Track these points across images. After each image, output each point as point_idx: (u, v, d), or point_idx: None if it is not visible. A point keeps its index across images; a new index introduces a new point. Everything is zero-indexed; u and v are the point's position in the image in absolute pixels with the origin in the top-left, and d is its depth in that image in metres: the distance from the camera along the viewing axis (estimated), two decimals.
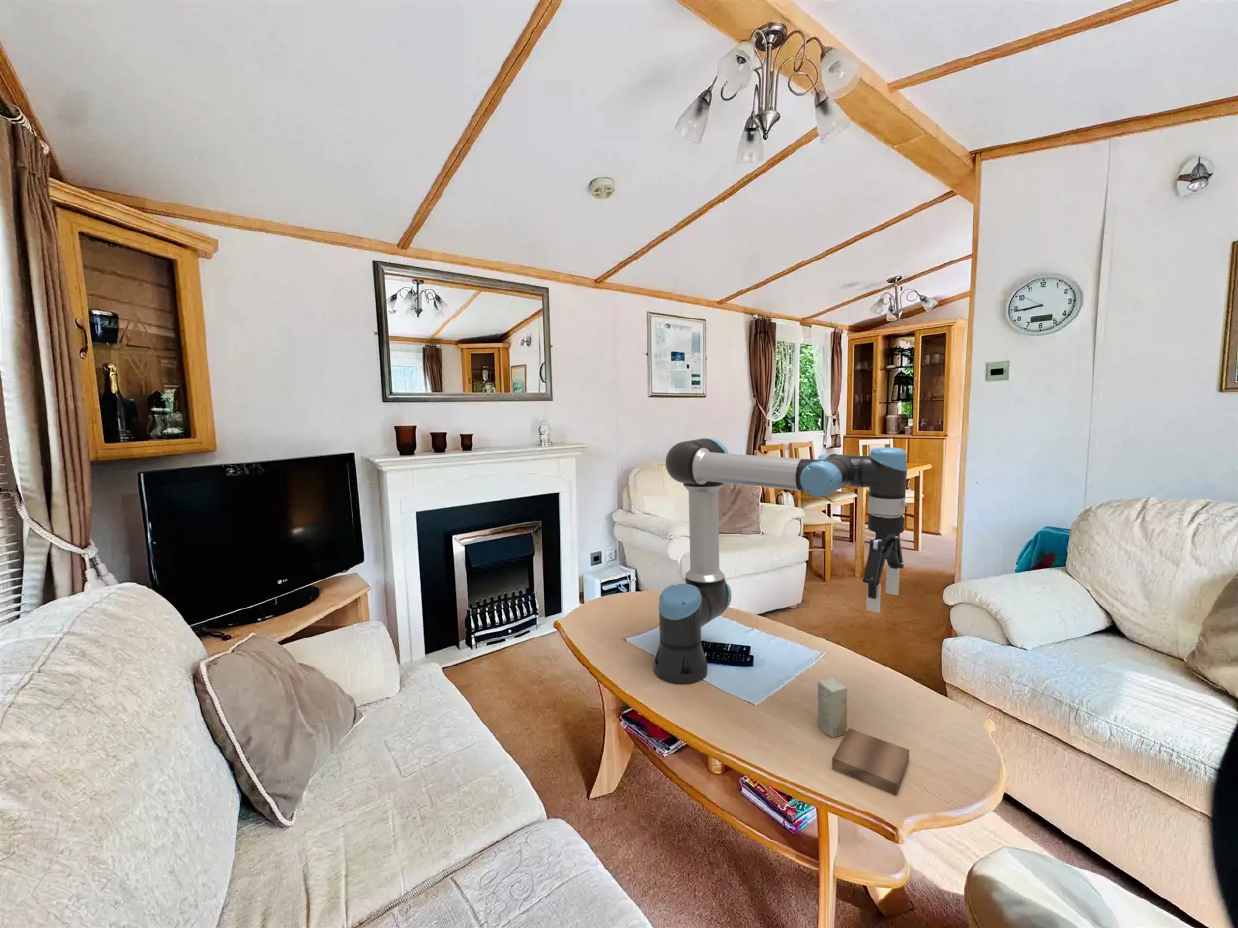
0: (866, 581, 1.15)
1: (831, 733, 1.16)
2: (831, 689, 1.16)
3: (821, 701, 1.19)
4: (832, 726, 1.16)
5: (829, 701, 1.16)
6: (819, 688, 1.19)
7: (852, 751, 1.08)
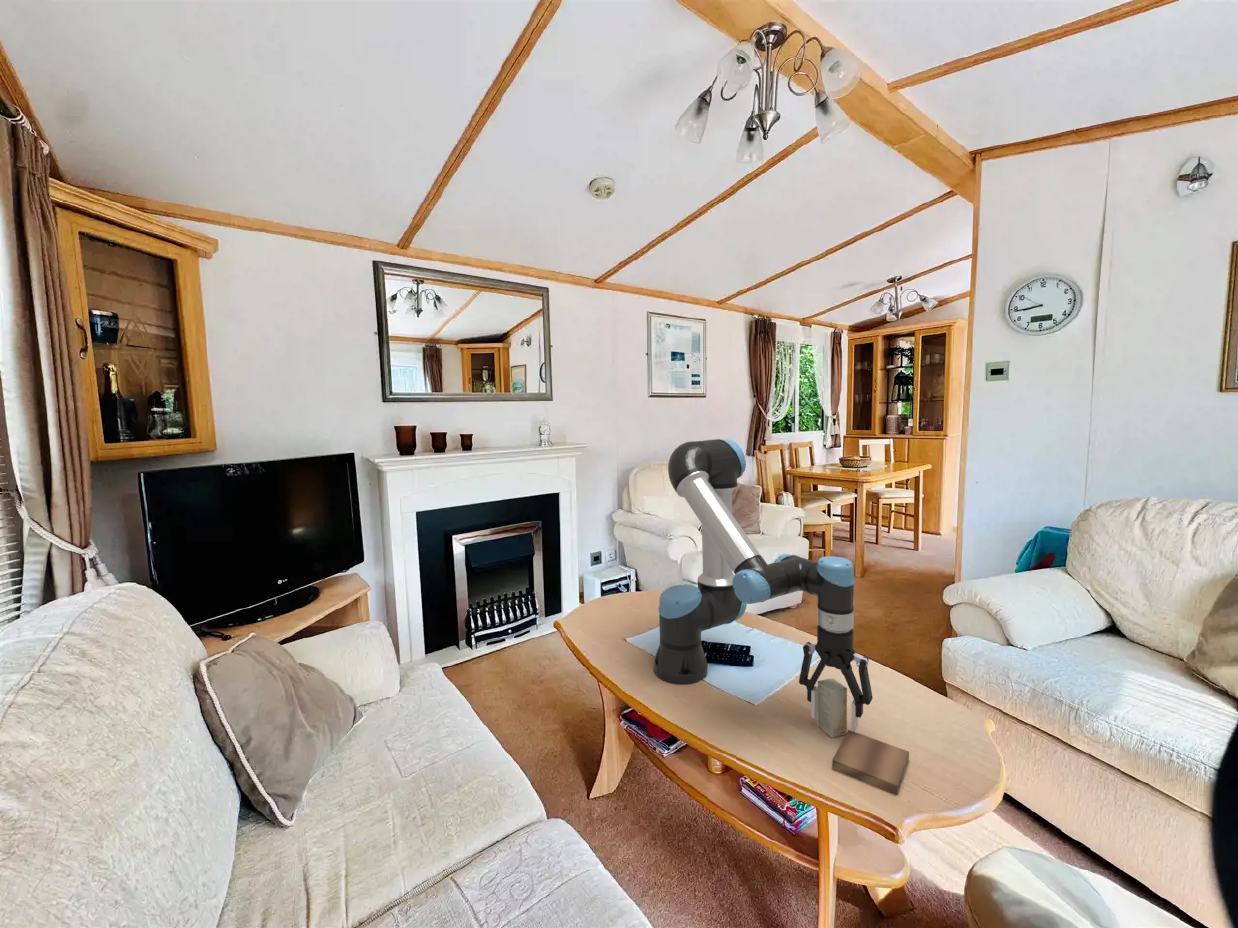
0: None
1: (831, 733, 1.16)
2: (831, 690, 1.16)
3: (821, 701, 1.19)
4: (832, 726, 1.16)
5: (829, 701, 1.16)
6: (819, 688, 1.19)
7: (852, 753, 1.08)
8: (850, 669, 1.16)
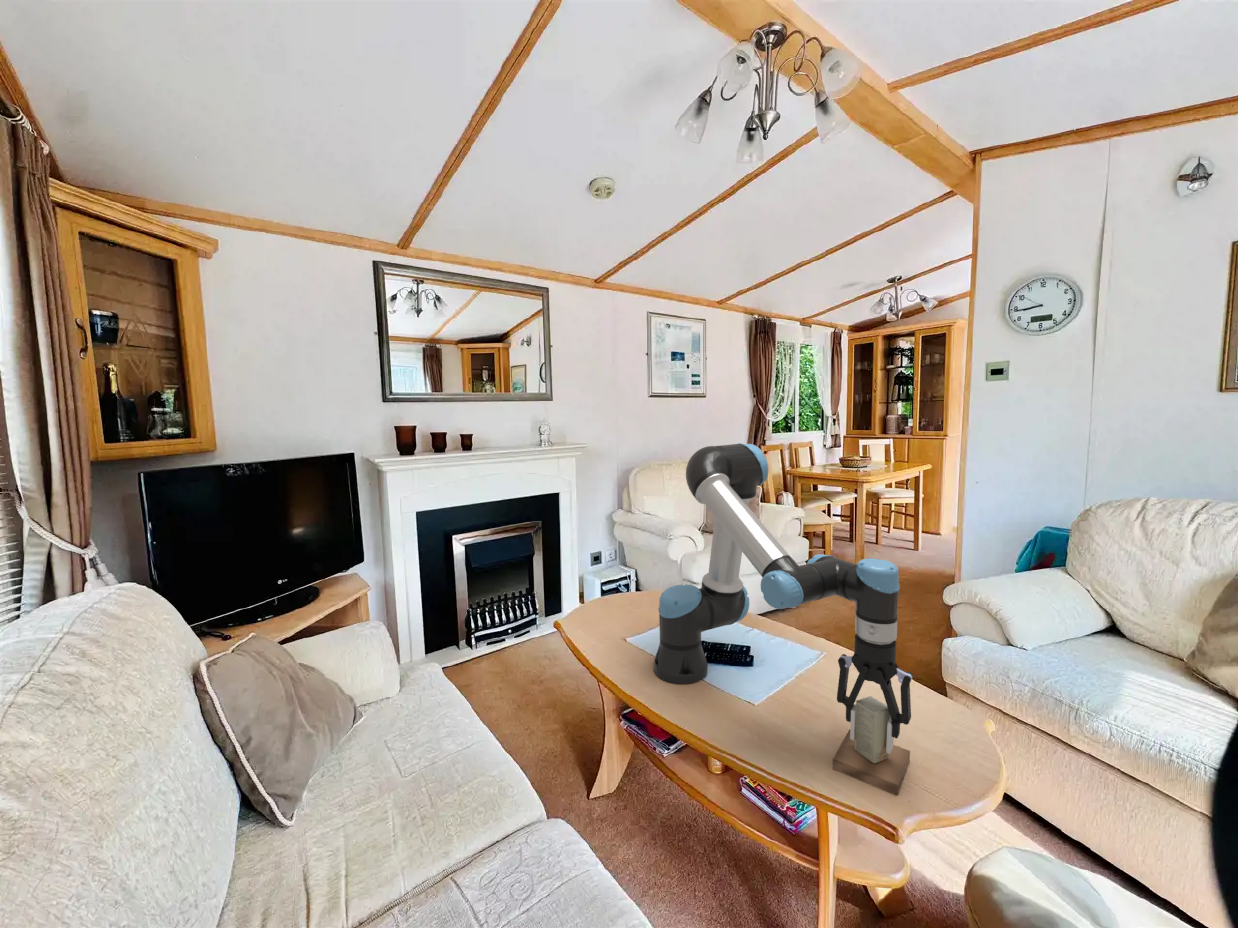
0: None
1: (874, 759, 1.05)
2: (875, 711, 1.04)
3: (860, 723, 1.07)
4: (875, 751, 1.04)
5: (871, 723, 1.04)
6: (858, 709, 1.07)
7: (853, 752, 1.08)
8: (890, 685, 1.04)
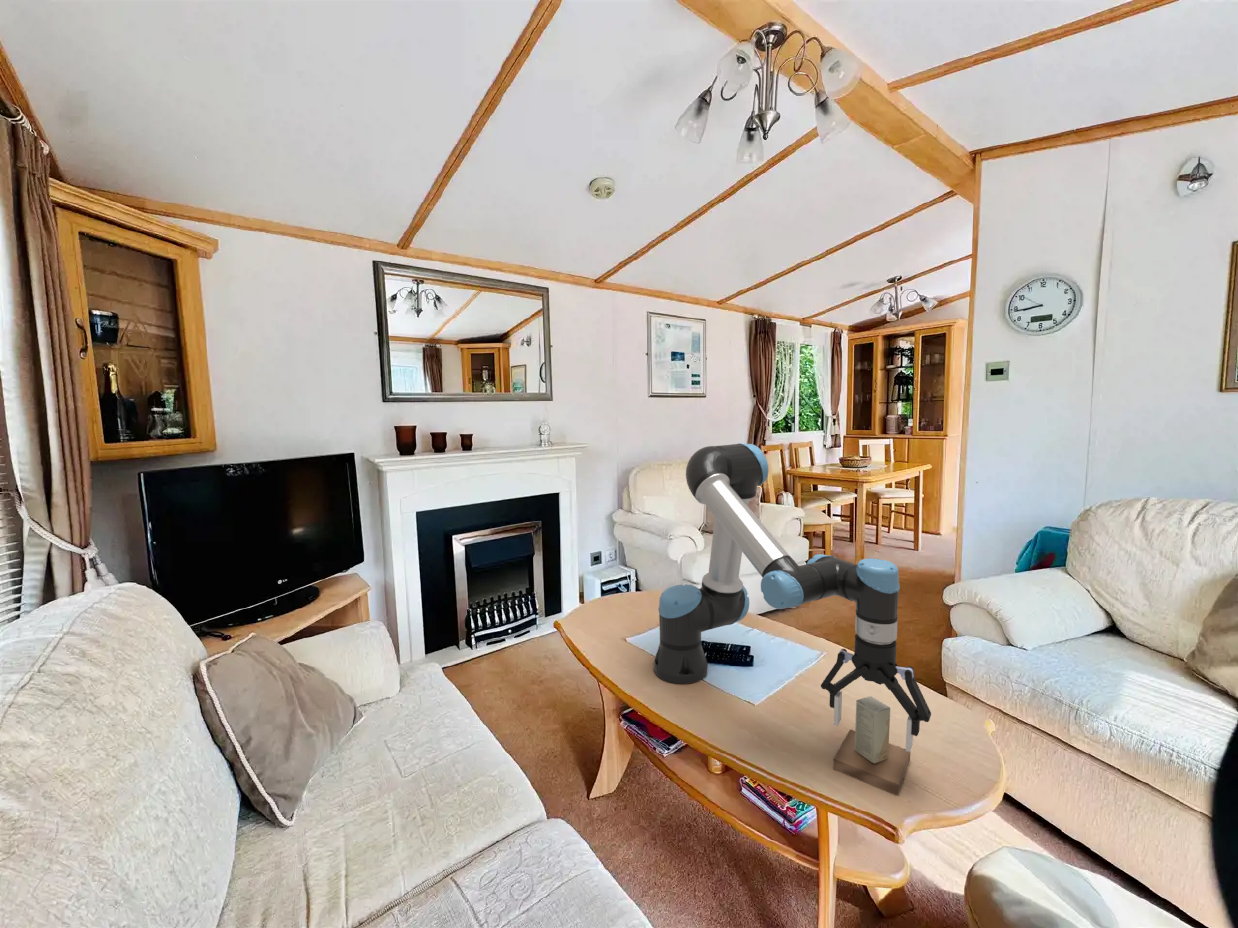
0: None
1: (873, 759, 1.04)
2: (875, 710, 1.04)
3: (860, 723, 1.07)
4: (874, 751, 1.04)
5: (871, 722, 1.04)
6: (858, 708, 1.07)
7: (854, 752, 1.08)
8: (896, 682, 1.03)
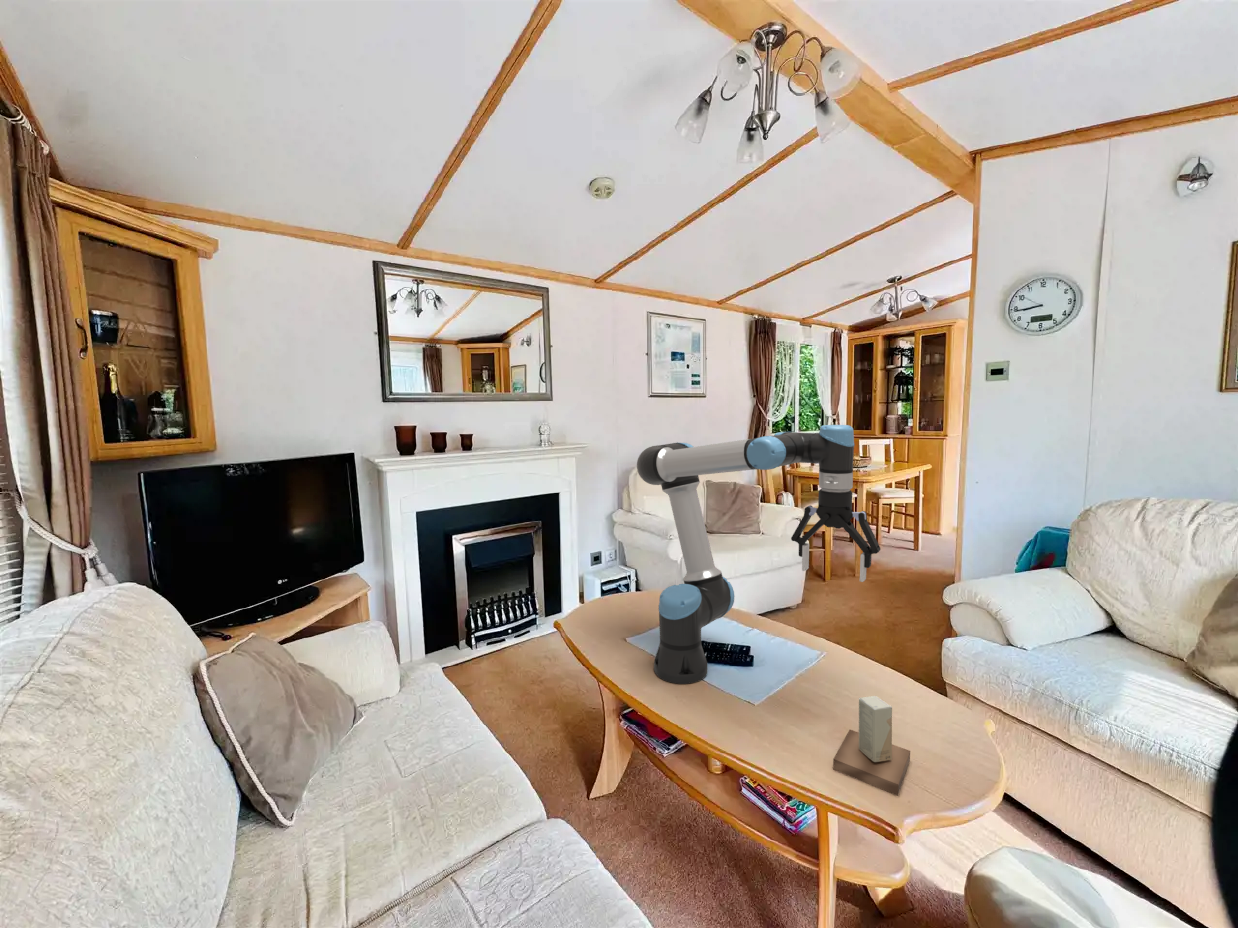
0: None
1: (874, 757, 1.04)
2: (874, 707, 1.05)
3: (862, 721, 1.07)
4: (874, 749, 1.04)
5: (871, 720, 1.05)
6: (860, 706, 1.08)
7: (853, 752, 1.08)
8: (852, 526, 1.23)
